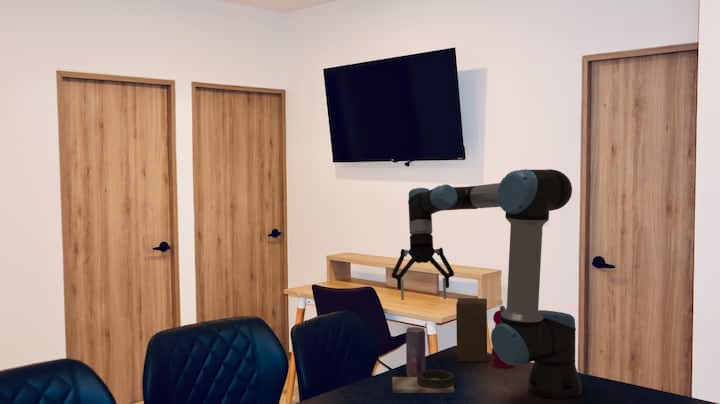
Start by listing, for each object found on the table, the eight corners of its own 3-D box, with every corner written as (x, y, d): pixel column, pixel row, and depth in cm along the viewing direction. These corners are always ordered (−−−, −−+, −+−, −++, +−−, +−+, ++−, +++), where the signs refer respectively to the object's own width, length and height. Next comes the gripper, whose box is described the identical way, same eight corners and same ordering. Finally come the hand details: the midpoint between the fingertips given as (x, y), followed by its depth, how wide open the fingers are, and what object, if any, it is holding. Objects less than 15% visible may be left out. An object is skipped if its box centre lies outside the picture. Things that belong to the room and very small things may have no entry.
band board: (451, 380, 209) (451, 369, 209) (455, 392, 197) (455, 381, 197) (392, 380, 209) (392, 369, 209) (392, 392, 198) (392, 381, 197)
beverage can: (428, 374, 214) (428, 328, 214) (420, 380, 209) (419, 332, 209) (412, 372, 218) (411, 326, 217) (403, 377, 212) (402, 329, 212)
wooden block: (486, 362, 227) (486, 303, 226) (456, 361, 229) (456, 303, 228) (487, 354, 237) (486, 298, 236) (458, 353, 239) (457, 297, 238)
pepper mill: (487, 365, 224) (486, 305, 223) (500, 361, 228) (500, 302, 228) (505, 370, 218) (504, 308, 217) (518, 365, 223) (518, 305, 222)
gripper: (458, 236, 226) (462, 299, 220) (384, 238, 228) (385, 301, 222) (459, 230, 219) (463, 296, 213) (382, 233, 221) (384, 298, 215)
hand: (423, 299), depth 218 cm, fingers open, 13 cm apart
